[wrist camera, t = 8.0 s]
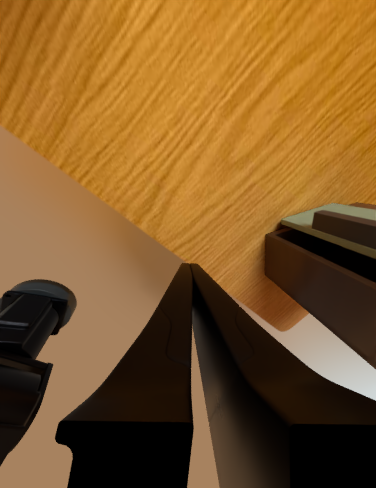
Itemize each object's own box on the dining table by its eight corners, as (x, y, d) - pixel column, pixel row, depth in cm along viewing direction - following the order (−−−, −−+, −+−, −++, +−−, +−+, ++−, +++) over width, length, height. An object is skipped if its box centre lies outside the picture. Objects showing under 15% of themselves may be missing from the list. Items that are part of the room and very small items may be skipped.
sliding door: (280, 223, 23) (443, 284, 10) (282, 205, 21) (469, 248, 9) (331, 207, 24) (533, 245, 11) (335, 189, 22) (568, 208, 10)
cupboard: (264, 274, 27) (391, 383, 13) (266, 219, 22) (467, 295, 8) (339, 247, 29) (519, 317, 15) (355, 191, 24) (641, 216, 10)
